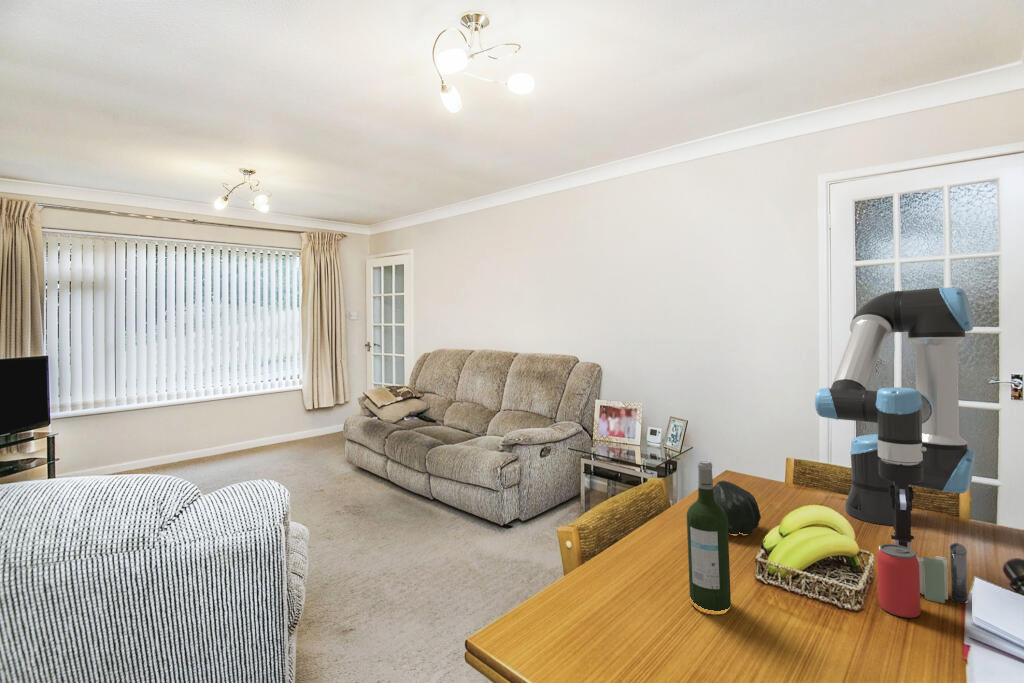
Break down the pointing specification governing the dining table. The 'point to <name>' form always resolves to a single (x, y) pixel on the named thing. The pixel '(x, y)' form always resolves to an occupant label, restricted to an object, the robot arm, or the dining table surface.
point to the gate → (921, 569)
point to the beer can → (898, 581)
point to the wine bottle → (708, 546)
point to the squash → (737, 507)
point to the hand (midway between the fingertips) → (903, 569)
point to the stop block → (934, 579)
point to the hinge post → (958, 572)
